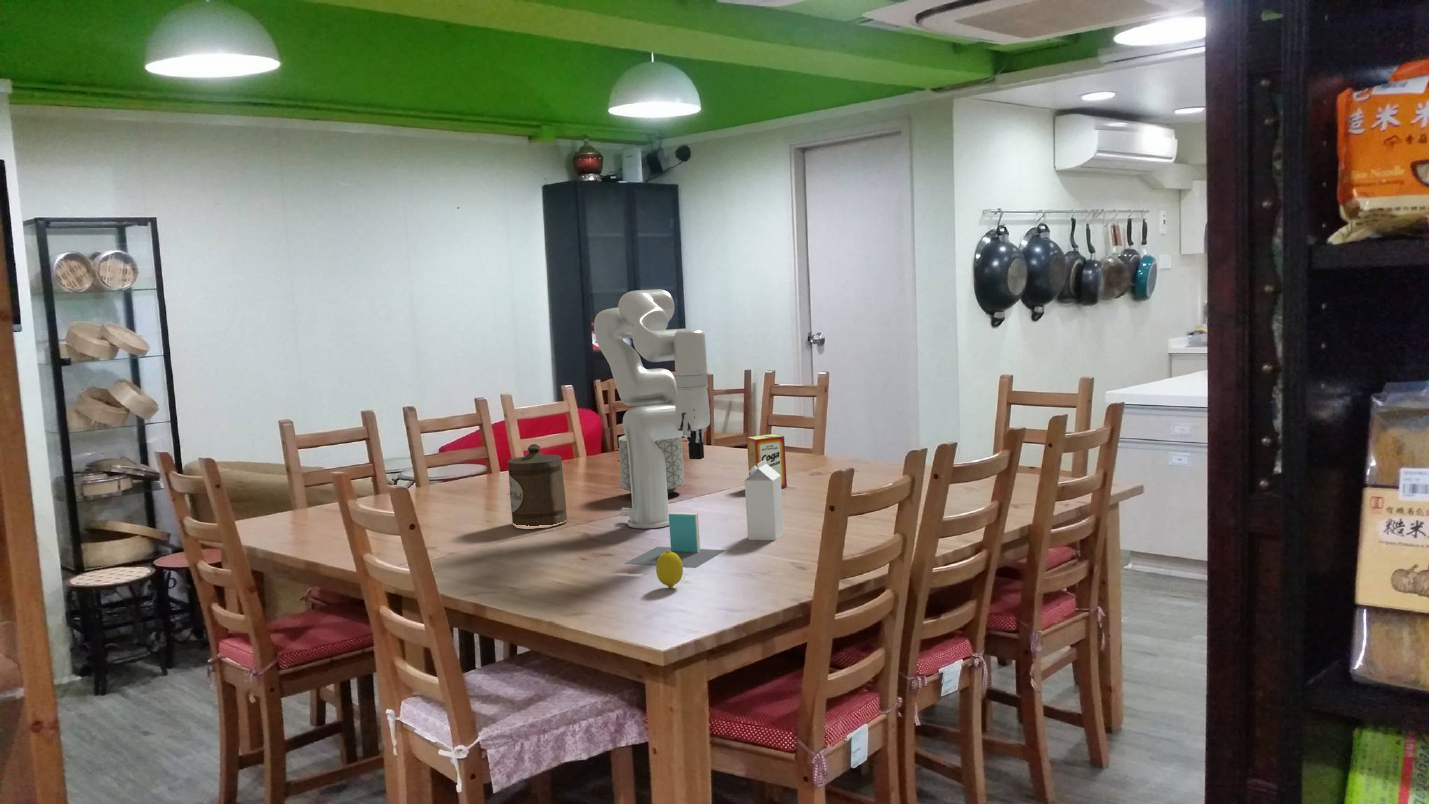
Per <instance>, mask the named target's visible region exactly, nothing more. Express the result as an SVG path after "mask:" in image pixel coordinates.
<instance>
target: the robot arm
mask: <svg viewBox="0 0 1429 804" xmlns="http://www.w3.org/2000/svg"><path fill="white" fill-rule="evenodd" d="M617 304H618V305H617V307H611V308H607V309H604V310H601V311H599V312H598V313H597V314H596V316H595V318H594V321H593V322H594V323H593V330H594V335H595V340H596V343H597V345H598V347H599V349H600V351H601V353H602V355H603V356H604V358H605V359H606V360H607V361H606V362H607V363H608V364H609V367H610V371H611V374H612V377H613V381H614V383H615V388H616V390H617V393H618V395H619V398H620V400H621V402H622V403H623V404H624V405H626V406H627V407H631V408H629V409H628V410H626V412H625V413H624V415H623V417H622V427H623V432H624V436H625V437H626V441H627V446H628V454H629V466H630V480H631V492H630V493H631V506H632V507H621V510H620V516H622V517H629V519H628V520H627V526H628V527H630V528H633V529H657V528H663V527H668V526H669V513H670V512H669V510H670V509H669V498H668V497H669V494H668V495H667V480H666V465H665V457H664V454H663V452H662V451H661V450H660V449H659V447H658V446H657V445H656V444H655V441H658V440H664V439H672V438H678V437H682V438H683V437H684V438H686V442H687V445H688V459H689V460H702V459H704V458H705V448H704V440H705V432H706V431H707V430H708V427H709V426H710V424H711V411H710V410H711V408H710V400H709V393H708V388H709V381H708V365H707V364H708V363H707V349H706V345H707V344H706V335H705V333H704V331H702V330H699V329H692V328H676V329H675V328H674V329H673V328H672V329H667V328H668V324H669V322H670V320H672V318H673V316H674V314H675V302H674V299H673V296H672V295H671V293H670V292H669V291H666V290H664V289H659V288H657V289H640V290H638V289H637V290H631V291H628V292H626V293H624V294H623V295H622V296H621V297H620V299H619V301H618V303H617ZM624 339H632V343H633V346H634V348H633V347H632V346H631V344H629V343H628V342H626V341H624ZM641 357H642V358H643V359H644V360H646V361H648V362H651V363H661V362H668V361H669V362H670V361H674V372H675V375H674V374H673V373H672V372H671V371H670V370H669V369H666V368H662V367H661V368H649V369H647V368H645V367H644V365H643V363H642V359H641ZM707 432H708V431H707Z"/></svg>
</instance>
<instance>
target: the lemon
mask: <svg viewBox="0 0 1429 804" xmlns="http://www.w3.org/2000/svg"><path fill="white" fill-rule="evenodd" d="M655 571H656V572H655V573H656V576H657V579H658V580H659V582H660V583H661V584H662V585H665V586H667V588H669V589H672V588H673V587H674V586H675V585H677V584H678V583H679V582H680V581H681V580H682V577H683V573H684V567H683V565H682V562H681V559H680V557H679V556H678V555H677V554H676V553H674V552H671V551H670V550H667V551H666V552H665V553H663V554H661V555H660V557H659V558H658V560H657V565H656V566H655Z"/></svg>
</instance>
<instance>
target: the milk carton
mask: <svg viewBox="0 0 1429 804" xmlns="http://www.w3.org/2000/svg"><path fill="white" fill-rule="evenodd" d="M749 472H750V473H751V475H750V476H749V475H748V476H747V478H746V479H745V480H744V492H745V493H744V494H745V507H746V508H745V510H746V529H747V531H746V532H747V540H751V541H753V540H755V541H756V540H759V541H777V540H778V539H779V538H781V536H784V533H785V531H784V514H783V513H784V512H783V495H782V493H783V492H782V488H781V475H780V474H778V473H777V472H776V471H775V470H774V469H773V468H771V467H770V466H769V465H768V464H767V462H766V459H765V460H763V461H762V462H760V463H758V464H757V467H756V466H754V467H753V468H752V469H750V470H749V469H748V473H749Z"/></svg>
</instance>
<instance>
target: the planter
mask: <svg viewBox="0 0 1429 804" xmlns="http://www.w3.org/2000/svg"><path fill="white" fill-rule="evenodd" d="M682 438H683V436H682V437H678V438H672V439H664V440H658V441H655V444H656V445H657V446H658V447H659V449H660V450H661V451H662V452H663V454H664V457H665V465H666V480H667V495H668V496H669V494H672V493H673V492H675V490H677V488H679V487H682V486H683V485H685V472H684V457H683V455H684V454H683V442H682V441H683V440H682ZM617 439H618V451H619V452H618V453H619V454H618V455H619V466H620V479H621V480H620V482H621V483H620V484H621V489H622V490H623V491H627V492H630V493H631V480H630V466H629V454H628V446H627V441H626V437H625V435H622V436H620V437H618V438H617Z"/></svg>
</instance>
